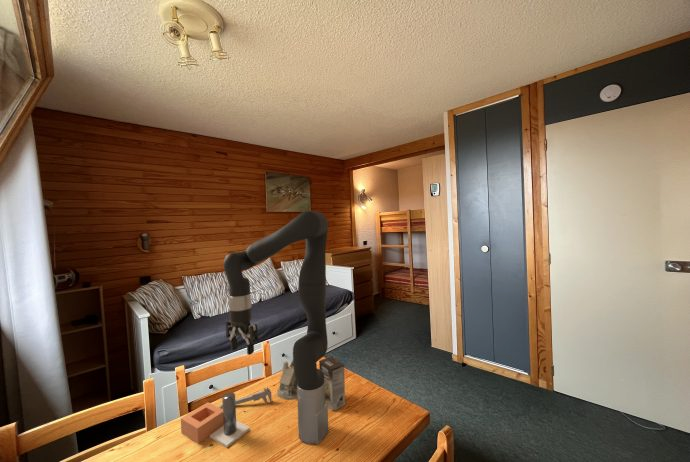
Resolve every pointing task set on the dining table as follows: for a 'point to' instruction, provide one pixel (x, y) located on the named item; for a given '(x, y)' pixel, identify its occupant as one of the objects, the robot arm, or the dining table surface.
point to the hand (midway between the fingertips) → (242, 351)
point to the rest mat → (229, 439)
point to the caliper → (255, 397)
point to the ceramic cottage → (287, 383)
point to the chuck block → (202, 422)
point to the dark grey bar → (229, 413)
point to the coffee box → (333, 382)
